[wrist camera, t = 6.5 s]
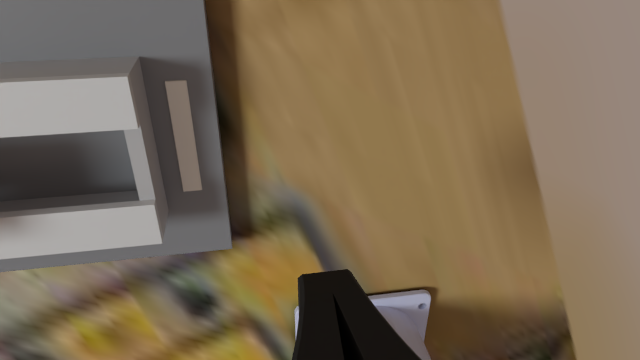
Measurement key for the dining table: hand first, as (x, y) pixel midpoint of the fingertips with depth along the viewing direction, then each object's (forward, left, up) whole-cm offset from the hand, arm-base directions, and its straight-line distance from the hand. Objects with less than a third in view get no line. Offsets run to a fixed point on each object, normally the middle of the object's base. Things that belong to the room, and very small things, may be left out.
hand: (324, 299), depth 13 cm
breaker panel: (+1, +11, -10) cm, 15 cm away
